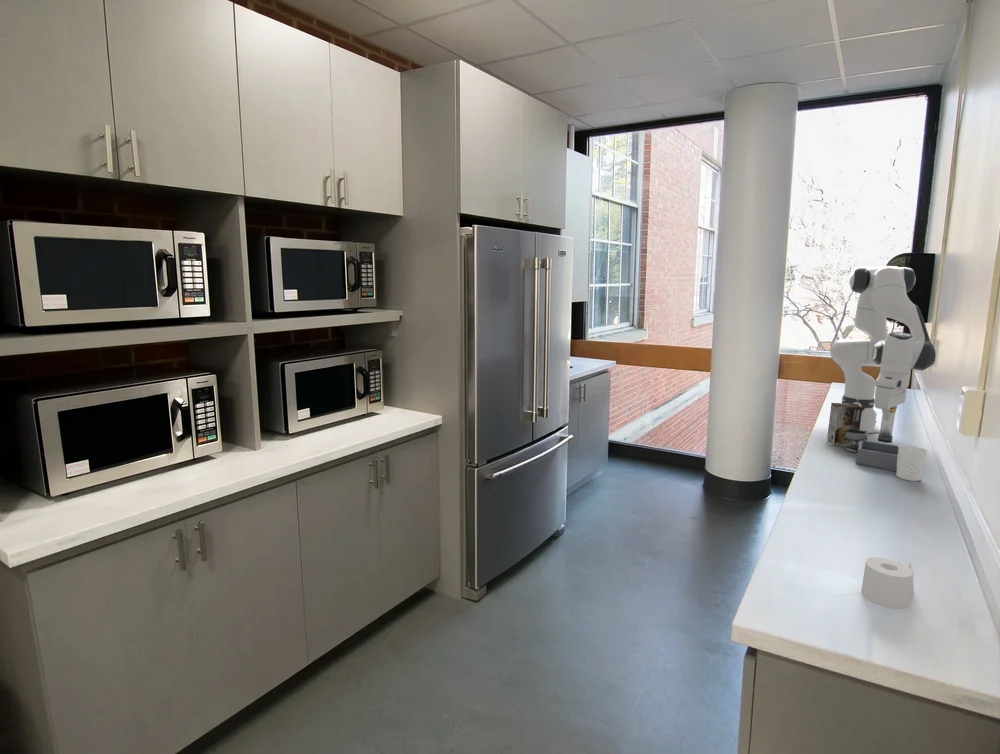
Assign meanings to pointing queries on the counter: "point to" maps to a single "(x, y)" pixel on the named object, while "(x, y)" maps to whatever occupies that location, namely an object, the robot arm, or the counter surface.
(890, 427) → the gold-capped metal cylinder
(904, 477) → the white cup
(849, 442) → the coffee box
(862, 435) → the grey capsule holder
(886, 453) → the bin
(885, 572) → the toilet paper
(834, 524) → the counter surface
